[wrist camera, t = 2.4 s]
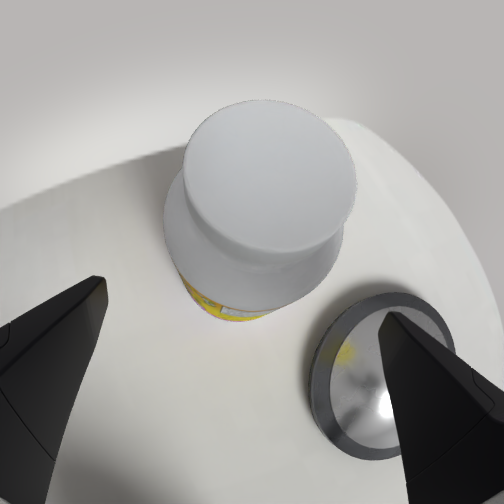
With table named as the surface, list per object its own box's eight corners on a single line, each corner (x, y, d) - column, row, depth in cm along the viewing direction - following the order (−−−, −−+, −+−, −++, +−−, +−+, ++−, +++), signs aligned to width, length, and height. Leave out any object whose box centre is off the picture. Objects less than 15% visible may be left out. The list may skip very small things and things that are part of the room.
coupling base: (390, 478, 17) (398, 484, 16) (270, 401, 18) (274, 405, 17) (467, 352, 20) (478, 351, 19) (374, 261, 21) (382, 256, 20)
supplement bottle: (182, 224, 20) (154, 77, 8) (281, 220, 21) (356, 84, 9) (186, 326, 19) (140, 301, 6) (292, 319, 20) (412, 280, 7)
